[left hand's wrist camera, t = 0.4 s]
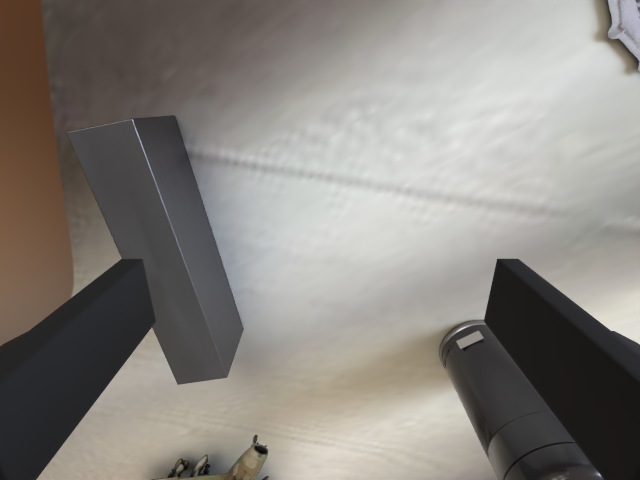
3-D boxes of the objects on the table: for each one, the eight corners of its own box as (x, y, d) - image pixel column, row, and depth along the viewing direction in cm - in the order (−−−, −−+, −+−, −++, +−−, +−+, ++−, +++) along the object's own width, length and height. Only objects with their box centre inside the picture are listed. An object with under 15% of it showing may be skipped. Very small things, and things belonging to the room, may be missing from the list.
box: (123, 125, 35) (65, 132, 27) (175, 115, 35) (132, 118, 27) (202, 335, 45) (177, 385, 37) (243, 329, 45) (227, 377, 37)
